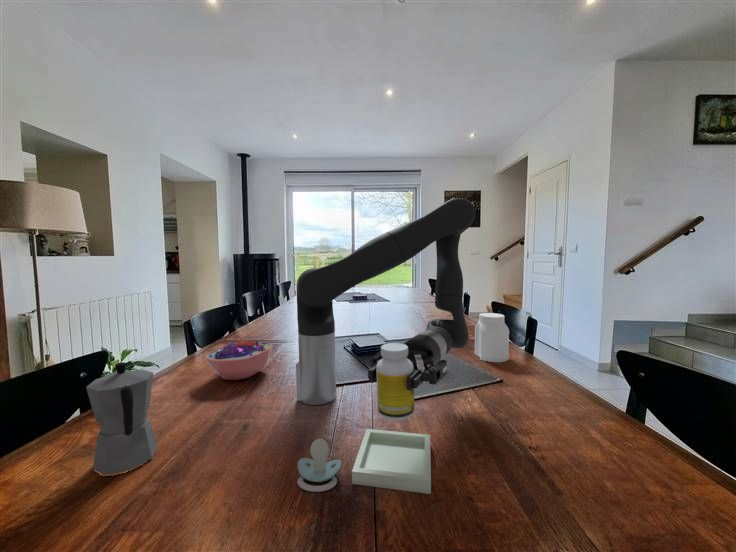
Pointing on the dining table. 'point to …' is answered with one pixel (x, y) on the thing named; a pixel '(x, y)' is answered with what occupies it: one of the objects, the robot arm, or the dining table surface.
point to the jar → (492, 338)
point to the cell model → (239, 359)
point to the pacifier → (318, 468)
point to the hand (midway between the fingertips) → (389, 380)
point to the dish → (394, 461)
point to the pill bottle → (394, 382)
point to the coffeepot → (122, 419)
